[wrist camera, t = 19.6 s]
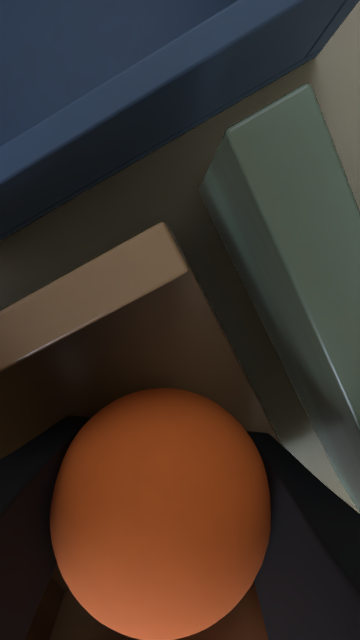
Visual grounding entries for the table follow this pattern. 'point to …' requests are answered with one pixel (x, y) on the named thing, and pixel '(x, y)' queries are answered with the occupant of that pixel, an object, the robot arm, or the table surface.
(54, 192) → the tray
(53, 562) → the robot arm
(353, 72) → the table surface
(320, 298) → the drawer
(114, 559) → the ball
